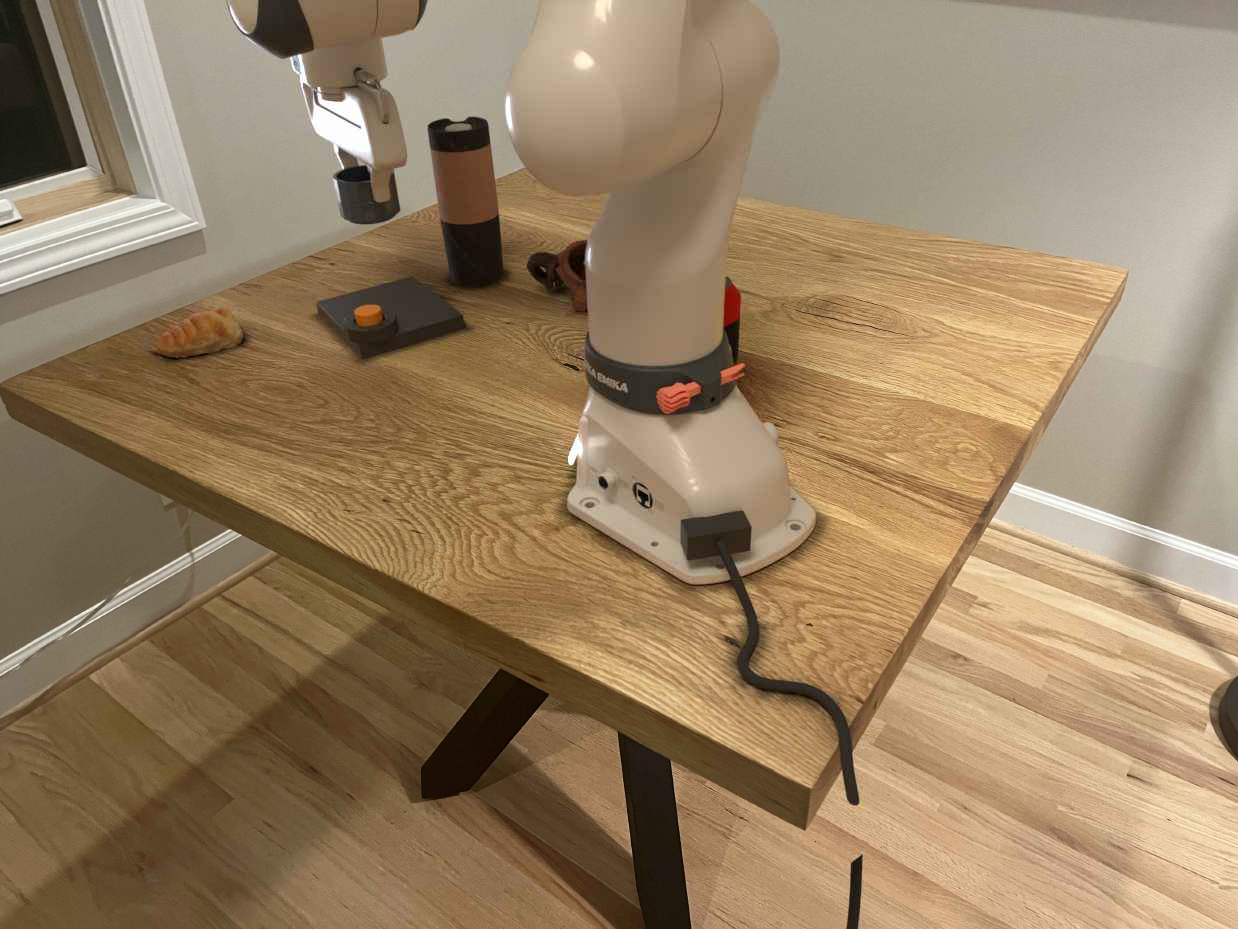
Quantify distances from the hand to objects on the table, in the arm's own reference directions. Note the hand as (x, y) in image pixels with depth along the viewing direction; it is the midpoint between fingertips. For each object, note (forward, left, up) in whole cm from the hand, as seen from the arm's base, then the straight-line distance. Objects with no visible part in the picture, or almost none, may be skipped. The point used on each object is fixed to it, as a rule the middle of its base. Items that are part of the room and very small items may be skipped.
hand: (367, 190), depth 104 cm
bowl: (0, 0, -3) cm, 3 cm away
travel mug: (+4, -14, -16) cm, 22 cm away
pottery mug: (-10, -21, -16) cm, 28 cm away
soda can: (-38, -19, -16) cm, 45 cm away
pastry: (+6, +21, -16) cm, 27 cm away
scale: (-2, +1, -16) cm, 16 cm away
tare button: (-7, +5, -13) cm, 15 cm away
